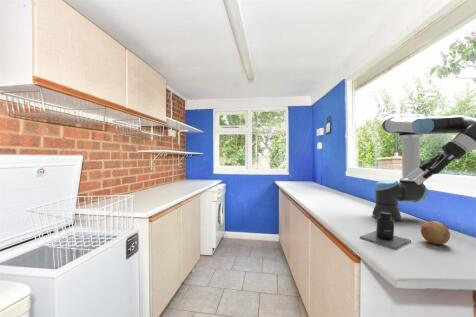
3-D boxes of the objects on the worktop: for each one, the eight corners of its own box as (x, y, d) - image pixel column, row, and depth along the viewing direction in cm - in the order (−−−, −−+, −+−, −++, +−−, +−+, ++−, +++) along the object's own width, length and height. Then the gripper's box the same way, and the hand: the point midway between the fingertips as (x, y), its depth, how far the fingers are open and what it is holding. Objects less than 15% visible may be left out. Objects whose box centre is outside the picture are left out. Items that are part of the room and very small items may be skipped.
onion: (438, 249, 91) (438, 225, 91) (414, 240, 101) (415, 218, 101) (456, 247, 93) (456, 224, 93) (431, 238, 103) (431, 217, 103)
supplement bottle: (387, 241, 97) (387, 215, 97) (372, 236, 104) (373, 211, 104) (397, 239, 100) (397, 213, 100) (382, 234, 106) (382, 210, 106)
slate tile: (376, 232, 112) (376, 230, 112) (411, 241, 99) (411, 240, 99) (359, 238, 104) (359, 236, 104) (395, 249, 91) (395, 247, 91)
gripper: (482, 153, 79) (427, 191, 87) (454, 152, 101) (413, 182, 109) (462, 139, 82) (411, 177, 89) (439, 141, 103) (400, 171, 111)
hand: (412, 180), depth 99 cm, fingers open, 13 cm apart
